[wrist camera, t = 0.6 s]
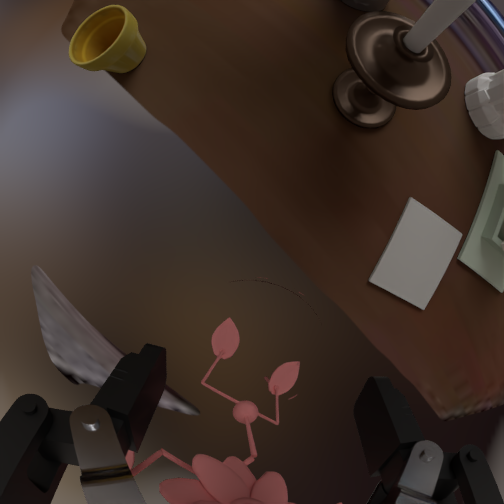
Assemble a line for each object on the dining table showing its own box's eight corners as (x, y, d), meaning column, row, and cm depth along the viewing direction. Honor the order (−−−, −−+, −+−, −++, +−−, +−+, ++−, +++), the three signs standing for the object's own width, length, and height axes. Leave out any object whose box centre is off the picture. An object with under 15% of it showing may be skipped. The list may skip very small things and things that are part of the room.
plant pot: (92, 74, 34) (57, 57, 25) (127, 26, 32) (98, 1, 22) (130, 92, 35) (94, 72, 25) (169, 39, 32) (143, 9, 23)
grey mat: (409, 197, 34) (411, 197, 33) (460, 233, 34) (462, 234, 33) (368, 280, 37) (369, 281, 36) (422, 308, 37) (423, 310, 36)
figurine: (300, 404, 42) (304, 599, 8) (173, 316, 41) (22, 499, 7) (367, 344, 39) (457, 549, 5) (233, 238, 38) (24, 440, 4)
